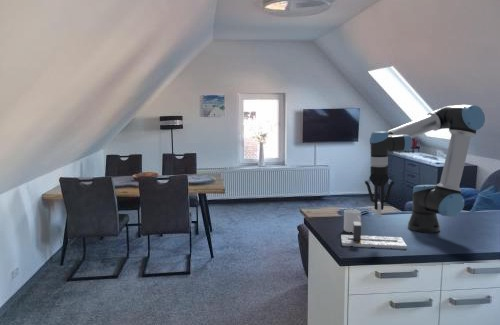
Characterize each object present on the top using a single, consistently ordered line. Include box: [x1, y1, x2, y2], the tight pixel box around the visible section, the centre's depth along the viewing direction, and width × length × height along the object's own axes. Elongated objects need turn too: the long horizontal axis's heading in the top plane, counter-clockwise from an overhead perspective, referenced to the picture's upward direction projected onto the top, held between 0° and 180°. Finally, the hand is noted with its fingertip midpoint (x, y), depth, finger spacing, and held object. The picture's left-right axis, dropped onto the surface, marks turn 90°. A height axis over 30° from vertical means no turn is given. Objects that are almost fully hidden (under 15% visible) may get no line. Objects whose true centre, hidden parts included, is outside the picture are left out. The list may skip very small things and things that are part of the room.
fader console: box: [340, 234, 408, 250], centre depth 193 cm, size 28×13×2 cm, turn 80°
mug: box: [343, 208, 363, 234], centre depth 211 cm, size 12×8×10 cm
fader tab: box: [352, 222, 362, 240], centre depth 194 cm, size 3×6×7 cm, turn 170°
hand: (378, 216), depth 191 cm, fingers closed
